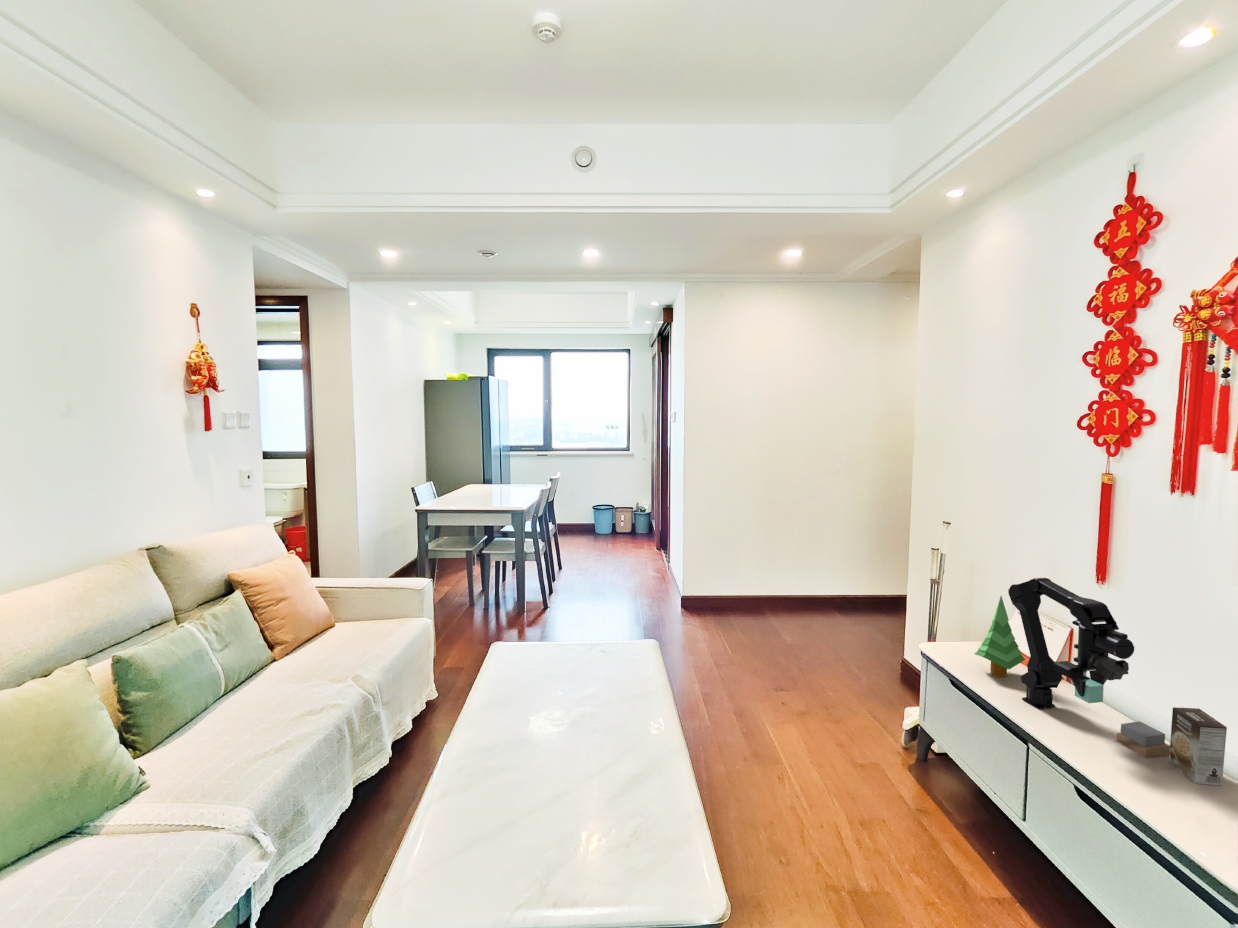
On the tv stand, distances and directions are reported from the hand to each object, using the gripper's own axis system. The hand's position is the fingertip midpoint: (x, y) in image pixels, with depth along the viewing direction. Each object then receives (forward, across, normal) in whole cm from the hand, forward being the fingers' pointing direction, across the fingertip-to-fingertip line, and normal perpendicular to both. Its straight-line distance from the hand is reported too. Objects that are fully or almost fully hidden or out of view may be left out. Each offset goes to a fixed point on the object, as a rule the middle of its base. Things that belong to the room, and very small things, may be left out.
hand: (1088, 695), depth 163 cm
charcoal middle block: (+10, +9, -8) cm, 15 cm away
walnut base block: (+13, +9, -8) cm, 18 cm away
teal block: (+1, 0, 0) cm, 1 cm away
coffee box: (+13, +10, -20) cm, 26 cm away
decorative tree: (+12, +5, +38) cm, 40 cm away
